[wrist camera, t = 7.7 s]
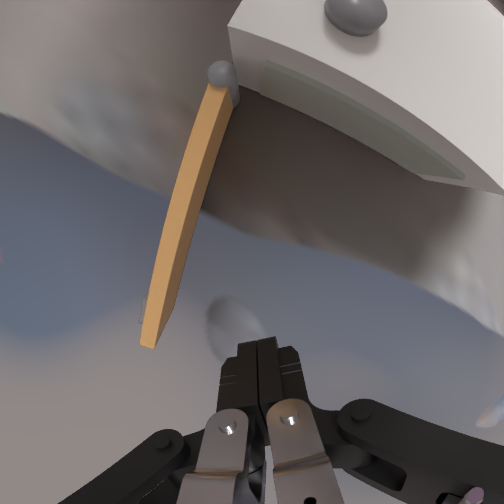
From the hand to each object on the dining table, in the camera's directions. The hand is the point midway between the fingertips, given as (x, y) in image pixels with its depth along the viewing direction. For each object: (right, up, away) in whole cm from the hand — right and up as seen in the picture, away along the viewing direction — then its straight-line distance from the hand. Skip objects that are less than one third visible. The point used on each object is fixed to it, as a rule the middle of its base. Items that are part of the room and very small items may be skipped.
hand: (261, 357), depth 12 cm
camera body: (+7, +15, +3) cm, 17 cm away
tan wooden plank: (-4, +7, +6) cm, 10 cm away
